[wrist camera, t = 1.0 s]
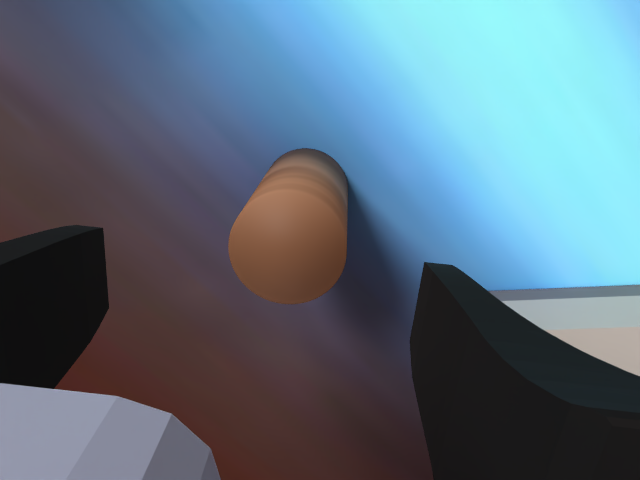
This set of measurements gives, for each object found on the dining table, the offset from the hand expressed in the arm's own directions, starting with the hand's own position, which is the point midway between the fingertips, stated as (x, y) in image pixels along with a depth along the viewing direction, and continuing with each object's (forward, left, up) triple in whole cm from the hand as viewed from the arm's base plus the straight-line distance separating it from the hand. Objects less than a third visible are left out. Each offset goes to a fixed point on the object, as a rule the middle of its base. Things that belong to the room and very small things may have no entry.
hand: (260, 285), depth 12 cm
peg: (-1, 0, -11) cm, 11 cm away
